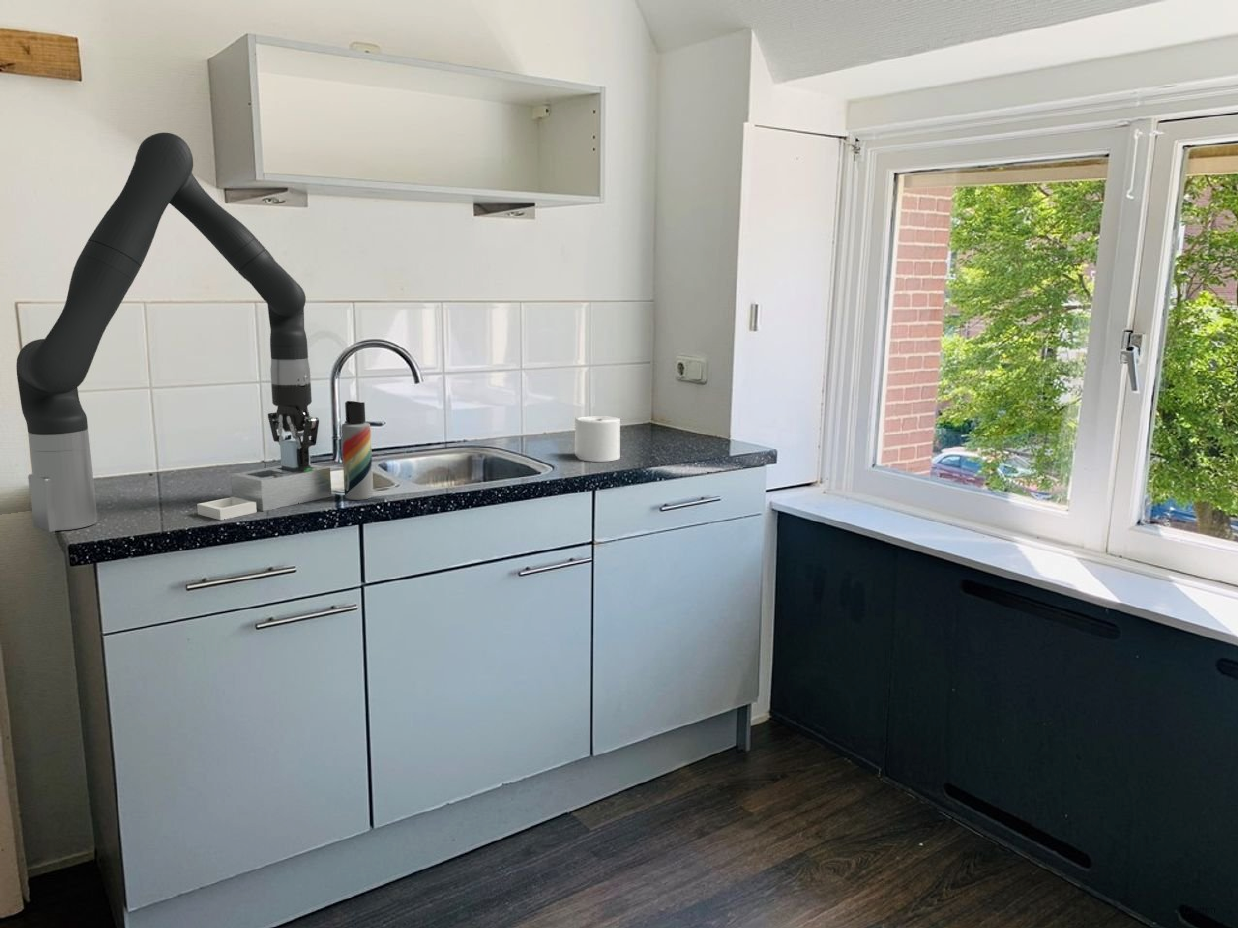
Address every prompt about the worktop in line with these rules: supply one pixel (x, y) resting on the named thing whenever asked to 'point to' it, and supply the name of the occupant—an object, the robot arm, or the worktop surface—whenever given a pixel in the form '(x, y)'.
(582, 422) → the toilet tissue
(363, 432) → the lotion bottle
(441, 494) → the worktop surface
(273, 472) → the two-compartment grey tray
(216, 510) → the white open box
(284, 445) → the light blue block
